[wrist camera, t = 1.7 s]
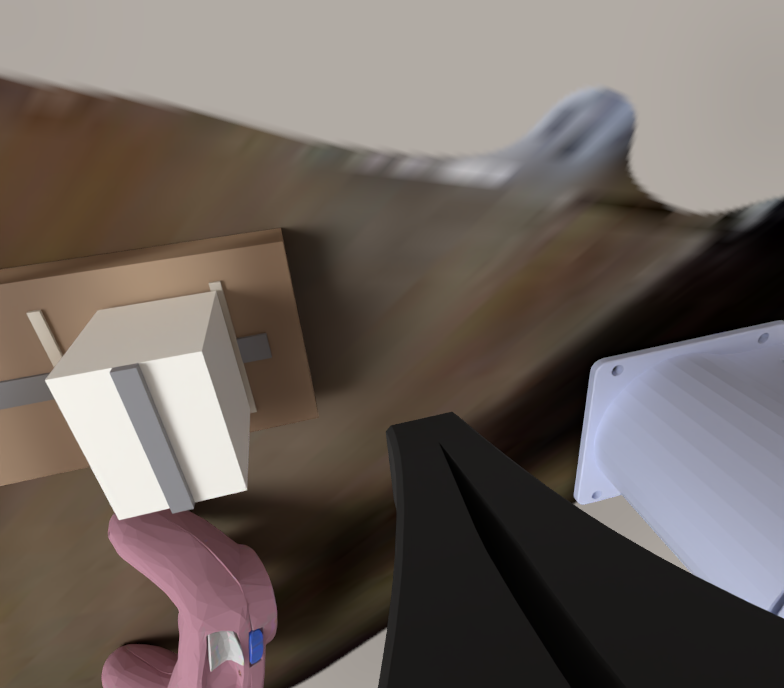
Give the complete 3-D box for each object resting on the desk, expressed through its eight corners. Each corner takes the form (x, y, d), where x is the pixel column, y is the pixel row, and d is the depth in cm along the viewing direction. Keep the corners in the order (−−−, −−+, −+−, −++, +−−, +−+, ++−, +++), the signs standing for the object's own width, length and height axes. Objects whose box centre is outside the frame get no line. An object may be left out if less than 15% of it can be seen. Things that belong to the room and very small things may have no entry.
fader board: (280, 227, 14) (282, 242, 13) (314, 393, 17) (319, 419, 16) (-235, 304, 12) (-299, 331, 11) (-97, 477, 15) (-133, 517, 14)
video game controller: (202, 619, 23) (268, 764, 19) (94, 670, 20) (144, 856, 16) (228, 462, 20) (319, 599, 15) (101, 495, 17) (169, 678, 12)
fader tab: (216, 290, 13) (200, 355, 10) (250, 409, 15) (246, 496, 12) (97, 310, 12) (40, 385, 9) (149, 430, 14) (116, 526, 11)
